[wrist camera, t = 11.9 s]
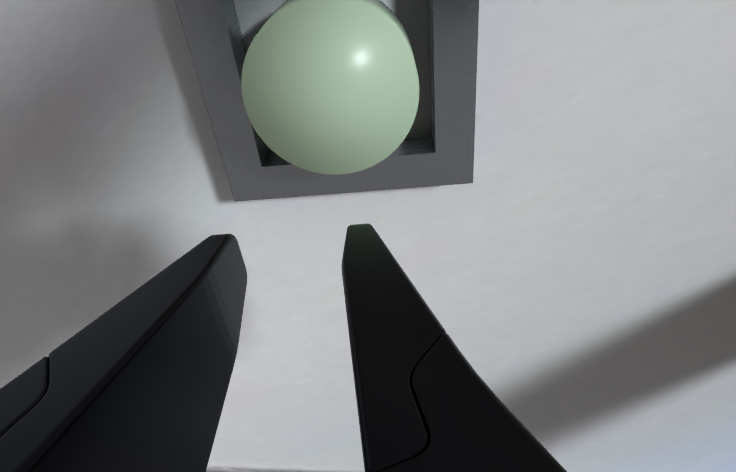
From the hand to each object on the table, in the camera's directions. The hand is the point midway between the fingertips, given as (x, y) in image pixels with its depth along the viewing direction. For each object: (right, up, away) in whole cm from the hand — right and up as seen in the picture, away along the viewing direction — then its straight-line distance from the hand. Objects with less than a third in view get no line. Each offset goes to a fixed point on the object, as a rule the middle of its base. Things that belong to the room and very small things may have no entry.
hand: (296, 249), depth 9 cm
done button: (0, +6, +9) cm, 10 cm away
